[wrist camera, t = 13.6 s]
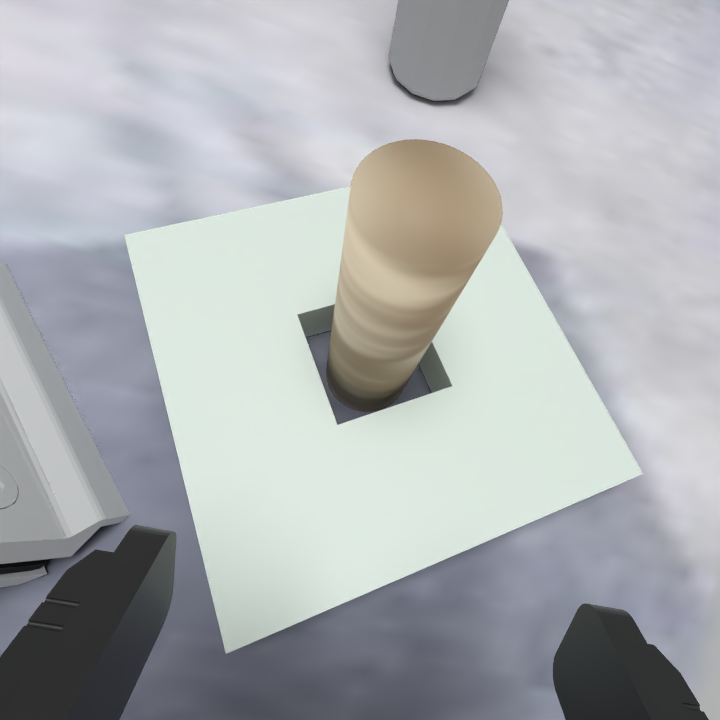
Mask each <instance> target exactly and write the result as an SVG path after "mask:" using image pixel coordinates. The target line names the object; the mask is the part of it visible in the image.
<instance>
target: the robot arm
mask: <svg viewBox="0 0 720 720" xmlns="http://www.w3.org/2000/svg"><path fill="white" fill-rule="evenodd" d="M175 551H176V533H175V532H173V531H167V530H161V529H155V528H150V527H144V526H138V525H135V526H133V527H132V528H131V529H130V530H129V531H128V533H127V534H126V535H125V537H124V538H123V540H122V541H121V543H120V544H119V546H118V547H117V549H116V550H115V552H114V553H113V552H107V551H101V550H94V551H93V552H92V553H90V554H89V555H87V556H86V557H85V558H83V559H82V560H80V561H79V562H78V563H76V564H75V565H73V566H72V567H71V568H69V569H68V570H67V571H66V572H65V573H64V575H63V576H62V577H61V579H60V580H59V581H58V582H57V584H56V585H55V586H54V588H53V589H52V590H51V592H50V593H49V594H48V595H47V597H46V600H45V602H44V603H43V602H42V603H41V605H40V606H39V607H38V609H37V610H36V611H35V612H34V614H33V615H32V616H31V618H30V619H29V622H28V624H27V626H24V627H23V628H22V629H21V631H20V632H19V633H18V635H17V636H16V637H15V638H14V640H13V641H12V642H11V644H10V645H9V646H8V648H7V649H6V650H5V651H4V653H3V654H2V655H1V657H0V720H119V719H120V717H121V715H122V713H123V710H124V708H125V706H126V704H127V702H128V700H129V697H130V695H131V693H132V691H133V689H134V687H135V685H136V682H137V680H138V678H139V676H140V674H141V672H142V669H143V667H144V665H145V663H146V661H147V659H148V656H149V654H150V652H151V650H152V648H153V646H154V644H155V641H156V639H157V637H158V635H159V633H160V631H161V628H162V626H163V624H164V621H165V619H166V616H167V613H168V610H169V607H170V603H171V599H172V593H173V583H174V567H175ZM553 679H554V685H555V690H556V693H557V696H558V699H559V702H560V705H561V707H562V710H563V713H564V716H565V719H566V720H708V718H707V716H706V715H705V713H704V712H702V711H700V708H699V707H700V705H699V703H698V701H697V700H696V698H695V696H694V695H693V693H692V692H691V690H690V688H689V687H688V685H687V683H686V682H685V680H684V678H683V677H682V675H681V673H680V672H679V671H678V670H677V669H676V668H675V667H674V666H673V665H672V664H671V663H670V662H669V661H668V660H667V658H666V657H665V656H664V655H663V654H662V653H661V652H660V651H659V650H658V649H657V648H656V647H655V646H654V645H651V644H647V642H646V640H645V639H644V637H643V635H642V634H641V632H640V630H639V628H638V627H637V625H636V623H635V621H634V620H633V618H632V617H631V616H630V614H629V613H627V612H626V611H624V610H621V609H615V608H609V607H603V606H597V605H591V604H583V605H581V606H580V607H579V609H578V610H577V612H576V614H575V616H574V618H573V620H572V622H571V624H570V626H569V628H568V630H567V632H566V634H565V636H564V638H563V640H562V642H561V644H560V646H559V648H558V650H557V652H556V654H555V658H554V663H553Z"/></svg>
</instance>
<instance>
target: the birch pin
mask: <svg viewBox="0 0 720 720" xmlns="http://www.w3.org/2000/svg"><path fill="white" fill-rule="evenodd" d="M502 214H503V211H502V201H501V197H500V194H499V191H498V189H497V187H496V185H495V183H494V181H493V180H492V178H491V177H490V175H489V174H488V173H487V172H486V170H485V169H484V168H483V167H482V166H481V165H480V164H479V163H478V162H476V161H475V160H474V159H472V158H471V157H470V156H468V155H466V154H465V153H463V152H461V151H459V150H457V149H455V148H453V147H451V146H448V145H445V144H442V143H438V142H434V141H428V140H402V141H397V142H393V143H389V144H387V145H384V146H381V147H380V148H378V149H376V150H374V151H373V152H371V153H370V154H369V155H367V156H366V157H365V158H364V159H363V160H362V161H361V163H360V164H359V166H358V167H357V169H356V171H355V173H354V175H353V178H352V181H351V188H350V195H349V203H348V210H347V218H346V225H345V233H344V240H343V248H342V255H341V263H340V270H339V278H338V285H337V293H336V300H335V308H334V315H333V323H332V330H331V338H330V345H329V353H328V360H327V368H326V377H327V382H328V385H329V387H330V390H331V391H332V393H333V394H334V396H335V397H336V398H337V399H338V400H339V401H340V402H342V403H343V404H344V405H346V406H348V407H350V408H352V409H355V410H359V411H376V410H380V409H382V408H385V407H387V406H388V405H390V404H391V403H393V402H394V401H395V400H396V399H397V397H398V396H399V395H400V393H401V392H402V390H403V388H404V387H405V385H406V383H407V382H408V380H409V378H410V377H411V375H412V373H413V372H414V370H415V368H416V367H417V365H418V363H419V362H420V360H421V359H422V357H423V355H424V354H425V352H426V350H427V349H428V347H429V345H430V344H431V342H432V340H433V339H434V337H435V335H436V334H437V332H438V330H439V329H440V327H441V325H442V324H443V322H444V321H445V319H446V317H447V316H448V314H449V312H450V311H451V309H452V307H453V306H454V304H455V302H456V301H457V299H458V297H459V296H460V294H461V292H462V291H463V289H464V287H465V286H466V284H467V283H468V281H469V279H470V278H471V276H472V274H473V273H474V271H475V269H476V268H477V266H478V264H479V263H480V261H481V259H482V258H483V256H484V254H485V253H486V251H487V249H488V248H489V246H490V245H491V243H492V241H493V240H494V238H495V236H496V234H497V232H498V230H499V228H500V225H501V222H502Z"/></svg>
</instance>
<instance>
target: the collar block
mask: <svg viewBox="0 0 720 720" xmlns="http://www.w3.org/2000/svg"><path fill="white" fill-rule="evenodd" d="M350 188H351V186H350V187H345V188H340V189H336V190H331V191H326V192H322V193H317V194H312V195H308V196H303V197H299V198H294V199H289V200H285V201H280V202H275V203H271V204H266V205H261V206H257V207H252V208H247V209H243V210H238V211H234V212H229V213H224V214H220V215H215V216H210V217H206V218H201V219H196V220H192V221H187V222H182V223H178V224H173V225H169V226H164V227H159V228H155V229H150V230H145V231H141V232H136V233H131V234H127V235H125V239H126V243H127V247H128V252H129V256H130V260H131V264H132V268H133V272H134V276H135V280H136V285H137V289H138V293H139V297H140V301H141V305H142V309H143V313H144V318H145V322H146V326H147V330H148V334H149V338H150V342H151V347H152V351H153V355H154V359H155V363H156V367H157V371H158V375H159V380H160V384H161V388H162V392H163V396H164V400H165V404H166V408H167V413H168V417H169V421H170V425H171V429H172V433H173V437H174V441H175V446H176V450H177V454H178V458H179V462H180V466H181V470H182V475H183V479H184V483H185V487H186V491H187V495H188V499H189V503H190V508H191V512H192V516H193V520H194V524H195V528H196V532H197V536H198V541H199V545H200V549H201V553H202V557H203V561H204V565H205V570H206V574H207V578H208V582H209V586H210V590H211V594H212V598H213V603H214V607H215V611H216V615H217V619H218V623H219V627H220V631H221V636H222V640H223V644H224V648H225V652H226V654H227V653H229V652H232V651H234V650H236V649H239V648H241V647H243V646H246V645H248V644H250V643H252V642H255V641H257V640H259V639H262V638H264V637H266V636H269V635H271V634H273V633H276V632H278V631H280V630H283V629H285V628H287V627H290V626H292V625H294V624H296V623H299V622H301V621H303V620H306V619H308V618H310V617H313V616H315V615H317V614H320V613H322V612H324V611H327V610H329V609H331V608H333V607H336V606H338V605H340V604H343V603H345V602H347V601H350V600H352V599H354V598H357V597H359V596H361V595H364V594H366V593H368V592H371V591H373V590H375V589H377V588H380V587H382V586H384V585H387V584H389V583H391V582H394V581H396V580H398V579H401V578H403V577H405V576H408V575H410V574H412V573H414V572H417V571H419V570H421V569H424V568H426V567H428V566H431V565H433V564H435V563H438V562H440V561H442V560H445V559H447V558H449V557H452V556H454V555H456V554H458V553H461V552H463V551H465V550H468V549H470V548H472V547H475V546H477V545H479V544H482V543H484V542H486V541H489V540H491V539H493V538H495V537H498V536H500V535H502V534H505V533H507V532H509V531H512V530H514V529H516V528H519V527H521V526H523V525H526V524H528V523H530V522H533V521H535V520H537V519H539V518H542V517H544V516H546V515H549V514H551V513H553V512H556V511H558V510H560V509H563V508H565V507H567V506H570V505H572V504H574V503H576V502H579V501H581V500H583V499H586V498H588V497H590V496H593V495H595V494H597V493H600V492H602V491H604V490H607V489H609V488H611V487H614V486H616V485H618V484H620V483H623V482H625V481H627V480H630V479H632V478H634V477H637V476H639V475H641V474H643V473H642V471H641V469H640V468H639V466H638V464H637V462H636V461H635V459H634V457H633V455H632V453H631V452H630V450H629V448H628V446H627V445H626V443H625V441H624V439H623V438H622V436H621V434H620V432H619V431H618V429H617V427H616V425H615V424H614V422H613V420H612V418H611V416H610V415H609V413H608V411H607V409H606V408H605V406H604V404H603V402H602V401H601V399H600V397H599V395H598V394H597V392H596V390H595V388H594V387H593V385H592V383H591V381H590V379H589V378H588V376H587V374H586V372H585V371H584V369H583V367H582V365H581V364H580V362H579V360H578V358H577V357H576V355H575V353H574V351H573V350H572V348H571V346H570V344H569V343H568V341H567V339H566V337H565V335H564V334H563V332H562V330H561V328H560V327H559V325H558V323H557V321H556V320H555V318H554V316H553V314H552V313H551V311H550V309H549V307H548V306H547V304H546V302H545V300H544V298H543V297H542V295H541V293H540V291H539V290H538V288H537V286H536V284H535V283H534V281H533V279H532V277H531V276H530V274H529V272H528V270H527V269H526V267H525V265H524V263H523V261H522V260H521V258H520V256H519V254H518V253H517V251H516V249H515V247H514V246H513V244H512V242H511V240H510V239H509V237H508V235H507V233H506V232H505V230H504V228H503V226H502V224H501V225H500V228H499V230H498V232H497V234H496V236H495V238H494V240H493V241H492V243H491V245H490V246H489V248H488V249H487V251H486V253H485V254H484V256H483V258H482V259H481V261H480V263H479V264H478V266H477V268H476V269H475V271H474V273H473V274H472V276H471V278H470V279H469V281H468V283H467V284H466V286H465V287H464V289H463V291H462V292H461V294H460V296H459V297H458V299H457V301H456V302H455V304H454V306H453V307H452V309H451V311H450V312H449V314H448V316H447V317H446V319H445V321H444V322H443V324H442V325H441V327H440V329H439V330H438V332H437V334H436V335H435V337H434V339H433V340H432V342H431V344H430V345H429V347H428V349H427V350H426V352H425V354H424V355H423V357H422V359H421V360H420V362H419V366H420V368H421V370H422V372H423V375H424V377H425V379H426V381H427V384H428V386H429V388H430V390H431V394H428V395H425V396H422V397H419V398H416V399H413V400H410V401H407V402H404V403H401V404H398V405H395V406H392V407H389V408H386V409H383V410H380V411H377V412H374V413H371V414H368V415H365V416H363V417H360V418H357V419H354V420H351V421H348V422H345V423H342V424H339V425H337V422H336V420H335V417H334V414H333V411H332V409H331V406H330V403H329V400H328V398H327V395H326V392H325V389H324V387H323V384H322V381H321V378H320V376H319V373H318V370H317V367H316V365H315V362H314V359H313V357H312V354H311V351H310V348H309V346H308V343H307V340H306V337H309V336H312V335H316V334H319V333H323V332H326V331H330V330H332V323H333V315H334V308H335V300H336V293H337V285H338V278H339V270H340V263H341V255H342V248H343V240H344V233H345V225H346V218H347V210H348V203H349V195H350Z"/></svg>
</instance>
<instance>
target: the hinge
mask: <svg viewBox="0 0 720 720" xmlns="http://www.w3.org/2000/svg"><path fill="white" fill-rule="evenodd" d="M129 515H130V513H129V511H128V509H127V507H126V505H125V503H124V501H123V499H122V497H121V495H120V493H119V491H118V489H117V487H116V485H115V483H114V481H113V479H112V477H111V475H110V473H109V471H108V469H107V467H106V465H105V463H104V461H103V459H102V457H101V455H100V453H99V451H98V449H97V447H96V444H95V442H94V440H93V438H92V436H91V434H90V432H89V430H88V428H87V426H86V424H85V422H84V420H83V418H82V416H81V414H80V412H79V410H78V408H77V406H76V404H75V402H74V400H73V398H72V396H71V394H70V392H69V390H68V388H67V386H66V384H65V382H64V380H63V378H62V376H61V374H60V372H59V370H58V368H57V366H56V364H55V362H54V360H53V358H52V356H51V354H50V352H49V350H48V348H47V346H46V344H45V342H44V340H43V338H42V336H41V334H40V332H39V330H38V328H37V326H36V324H35V321H34V319H33V317H32V315H31V313H30V311H29V309H28V307H27V305H26V303H25V301H24V299H23V297H22V295H21V293H20V291H19V289H18V287H17V285H16V283H15V281H14V279H13V277H12V275H11V273H10V271H9V269H8V267H7V265H6V264H4V263H2V262H0V587H7V586H13V585H20V584H23V583H26V582H28V581H31V580H34V579H36V578H39V577H41V576H43V575H46V574H47V572H46V570H45V567H44V565H45V564H47V562H46V560H45V559H53V558H63V557H71V556H72V555H73V554H74V553H75V552H76V551H77V550H78V549H79V548H80V547H81V546H82V545H83V544H84V543H85V542H86V541H87V540H88V539H89V538H90V537H91V536H92V535H93V534H94V533H95V532H96V531H97V530H98V529H99V528H100V527H102V526H107V525H112V524H117V523H121V522H122V521H123V520H125V519H126V518H127V517H128V516H129Z"/></svg>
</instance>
